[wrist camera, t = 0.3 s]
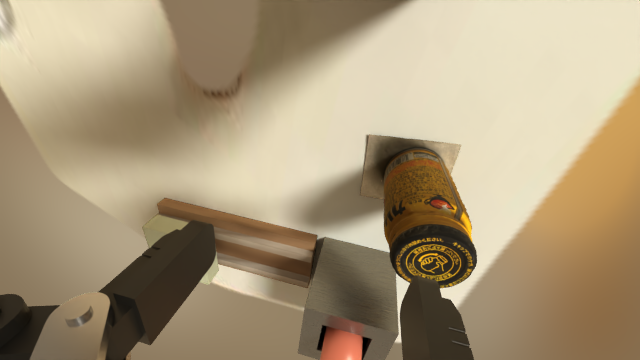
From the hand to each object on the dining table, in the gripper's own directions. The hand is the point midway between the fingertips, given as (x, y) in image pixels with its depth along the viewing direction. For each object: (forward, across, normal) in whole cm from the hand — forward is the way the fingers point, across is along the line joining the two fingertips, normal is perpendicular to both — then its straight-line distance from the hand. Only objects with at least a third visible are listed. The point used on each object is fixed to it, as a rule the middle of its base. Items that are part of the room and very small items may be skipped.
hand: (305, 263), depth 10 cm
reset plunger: (+12, -4, +19) cm, 23 cm away
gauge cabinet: (+19, -4, +19) cm, 27 cm away
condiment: (+18, -6, +3) cm, 20 cm away
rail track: (+19, +13, +19) cm, 30 cm away
